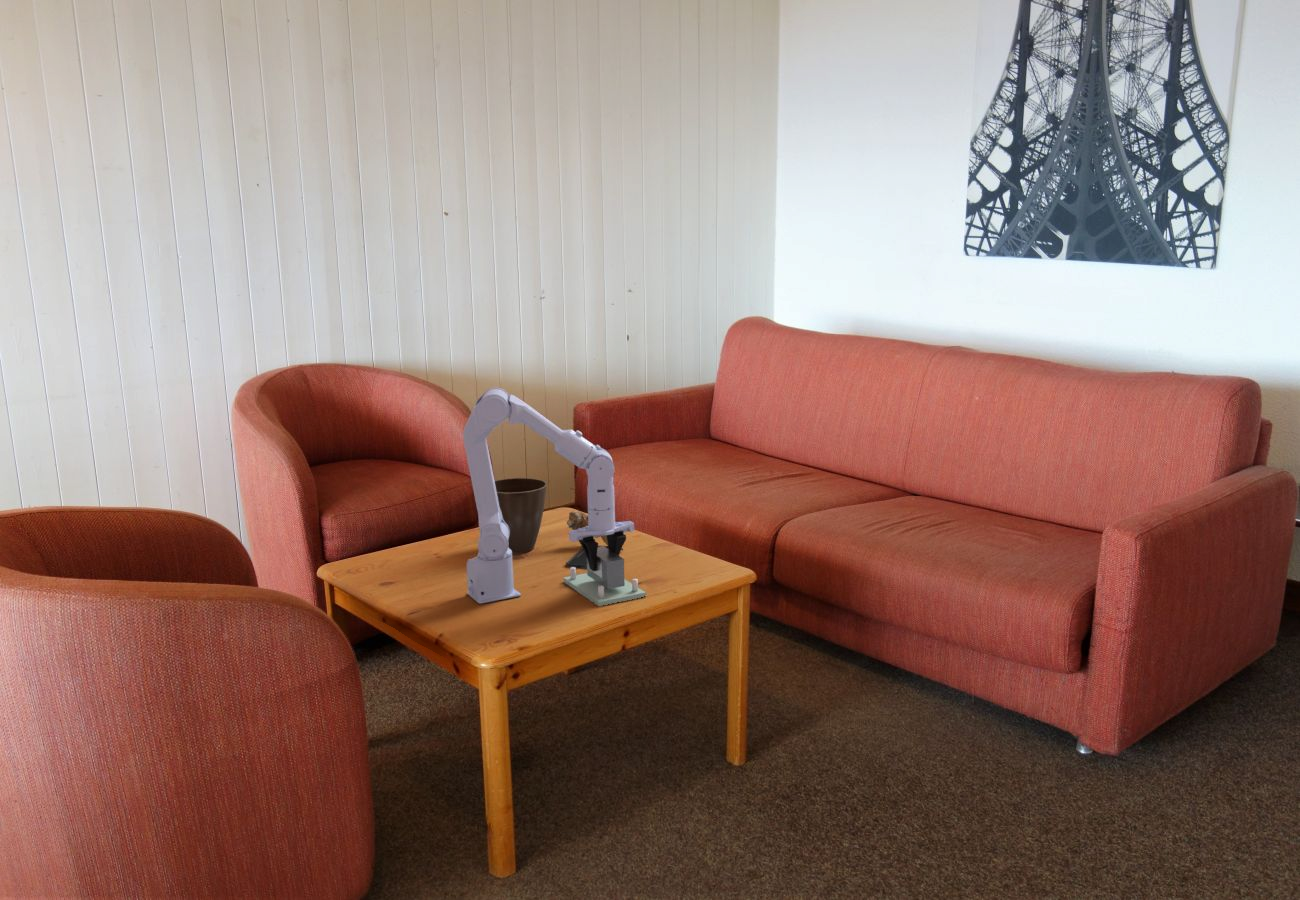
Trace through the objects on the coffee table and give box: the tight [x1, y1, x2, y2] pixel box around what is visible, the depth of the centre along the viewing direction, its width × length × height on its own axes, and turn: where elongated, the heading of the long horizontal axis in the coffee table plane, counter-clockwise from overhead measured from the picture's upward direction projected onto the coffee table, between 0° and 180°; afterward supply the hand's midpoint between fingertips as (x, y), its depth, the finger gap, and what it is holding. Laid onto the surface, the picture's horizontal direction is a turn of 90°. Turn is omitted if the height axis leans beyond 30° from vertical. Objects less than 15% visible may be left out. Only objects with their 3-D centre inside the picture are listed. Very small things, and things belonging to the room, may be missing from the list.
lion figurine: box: [566, 510, 624, 551], centre depth 267 cm, size 15×5×9 cm, turn 65°
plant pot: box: [494, 477, 547, 554], centre depth 267 cm, size 15×15×16 cm
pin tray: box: [562, 567, 647, 607], centre depth 239 cm, size 11×18×4 cm, turn 28°
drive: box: [586, 545, 625, 589], centre depth 237 cm, size 4×10×6 cm, turn 28°
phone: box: [565, 545, 609, 570], centre depth 260 cm, size 8×1×15 cm
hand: (603, 568), depth 238 cm, fingers closed on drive, 4 cm apart
